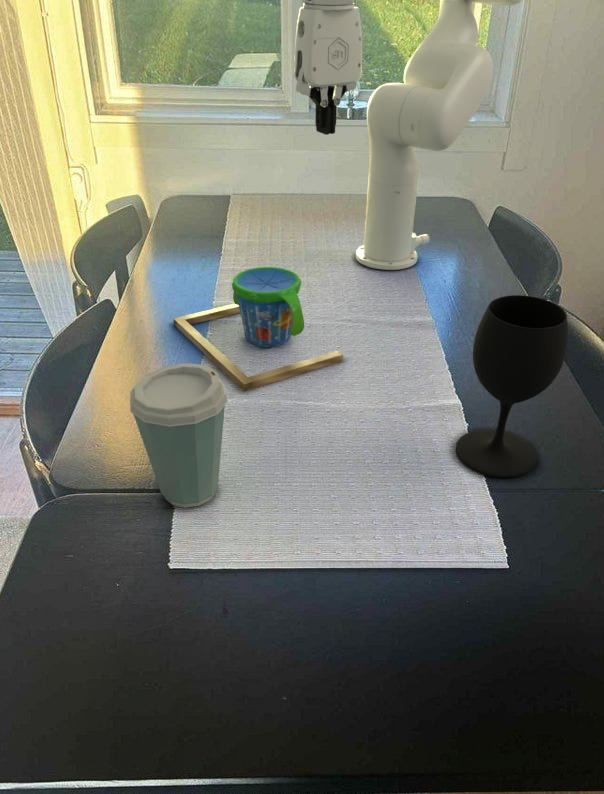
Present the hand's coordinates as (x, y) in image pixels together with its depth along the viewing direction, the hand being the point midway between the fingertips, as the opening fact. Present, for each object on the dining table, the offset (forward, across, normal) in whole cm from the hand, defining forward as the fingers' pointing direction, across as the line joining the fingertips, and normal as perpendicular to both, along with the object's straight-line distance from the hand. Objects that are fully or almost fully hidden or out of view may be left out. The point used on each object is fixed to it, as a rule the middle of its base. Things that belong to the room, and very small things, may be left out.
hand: (325, 132), depth 114 cm
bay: (+27, -20, -12) cm, 36 cm away
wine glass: (+27, -9, -55) cm, 62 cm away
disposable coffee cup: (+27, -46, -41) cm, 67 cm away
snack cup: (+27, -18, -12) cm, 35 cm away
